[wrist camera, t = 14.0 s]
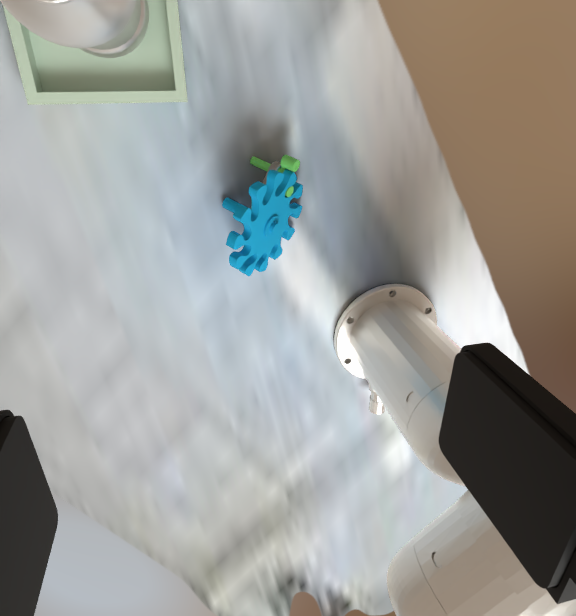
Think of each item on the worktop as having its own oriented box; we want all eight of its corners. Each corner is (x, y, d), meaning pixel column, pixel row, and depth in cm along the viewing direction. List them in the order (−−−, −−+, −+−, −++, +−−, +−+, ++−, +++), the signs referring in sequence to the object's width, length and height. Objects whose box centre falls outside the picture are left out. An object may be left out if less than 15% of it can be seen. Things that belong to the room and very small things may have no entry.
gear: (275, 282, 45) (222, 274, 35) (231, 256, 47) (170, 243, 38) (325, 180, 43) (283, 144, 33) (276, 158, 45) (224, 119, 36)
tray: (186, 100, 37) (187, 101, 35) (36, 103, 35) (27, 104, 33) (168, -79, 32) (168, -89, 30) (-11, -90, 29) (-25, -102, 27)
